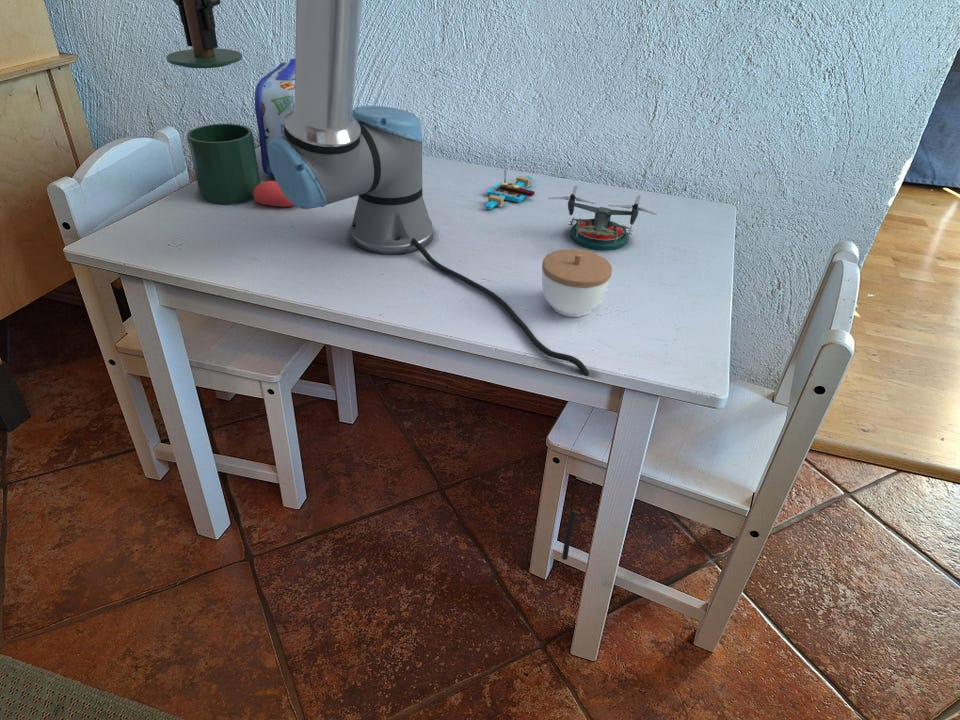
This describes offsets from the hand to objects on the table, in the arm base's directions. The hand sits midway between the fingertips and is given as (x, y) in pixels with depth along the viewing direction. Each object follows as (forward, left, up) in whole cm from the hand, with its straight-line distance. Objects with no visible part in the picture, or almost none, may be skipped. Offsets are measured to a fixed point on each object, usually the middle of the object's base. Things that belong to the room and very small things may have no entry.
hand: (202, 46), depth 120 cm
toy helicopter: (-73, -24, -29) cm, 82 cm away
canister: (0, 0, -28) cm, 28 cm away
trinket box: (-79, +1, -29) cm, 84 cm away
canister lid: (0, 0, -2) cm, 2 cm away
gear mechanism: (-49, -34, -29) cm, 66 cm away
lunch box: (+1, -21, -29) cm, 35 cm away
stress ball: (-12, -1, -29) cm, 31 cm away
